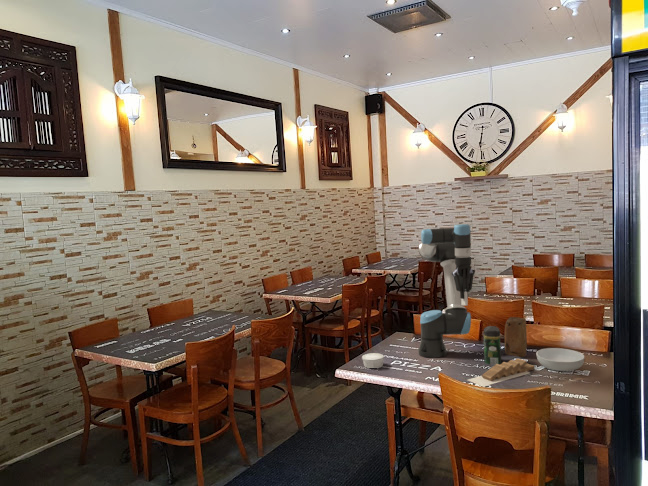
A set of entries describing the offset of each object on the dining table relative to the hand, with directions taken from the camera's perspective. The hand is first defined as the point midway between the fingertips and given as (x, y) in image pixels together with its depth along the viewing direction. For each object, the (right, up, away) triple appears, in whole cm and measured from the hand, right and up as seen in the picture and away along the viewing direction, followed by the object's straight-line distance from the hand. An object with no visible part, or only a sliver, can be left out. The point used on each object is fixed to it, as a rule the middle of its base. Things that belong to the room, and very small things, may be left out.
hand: (464, 305), depth 233 cm
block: (+33, -30, +20) cm, 49 cm away
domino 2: (+10, -31, -12) cm, 35 cm away
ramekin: (-42, -34, +16) cm, 57 cm away
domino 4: (+18, -30, -8) cm, 36 cm away
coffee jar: (+17, -31, +10) cm, 37 cm away
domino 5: (+22, -30, -6) cm, 38 cm away
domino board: (+13, -33, -10) cm, 37 cm away
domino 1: (+6, -32, -14) cm, 35 cm away
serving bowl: (+46, -31, -1) cm, 55 cm away
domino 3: (+14, -31, -10) cm, 35 cm away
